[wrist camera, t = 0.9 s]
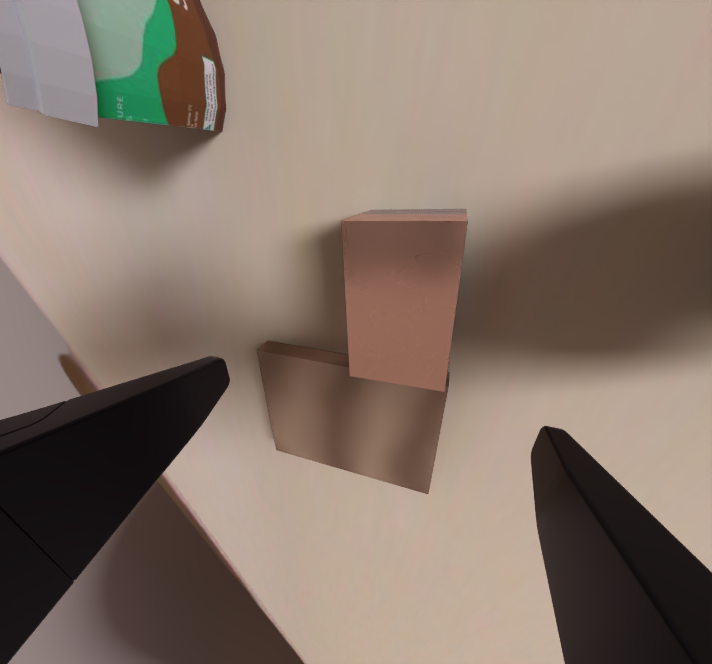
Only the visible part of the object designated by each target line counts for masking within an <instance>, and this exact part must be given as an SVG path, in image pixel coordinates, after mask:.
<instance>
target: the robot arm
mask: <svg viewBox="0 0 712 664" xmlns="http://www.w3.org/2000/svg"><path fill="white" fill-rule="evenodd" d="M229 382H230V378H229V374H228V371H227V367H226V363H225V361H224V360H223V359H222V358H219V357H214V356H210V357H206V358H203V359H200V360H196V361H193V362H190V363H187V364H183V365H180V366H177V367H174V368H170V369H167V370H164V371H161V372H157V373H154V374H151V375H148V376H144V377H141V378H138V379H135V380H131V381H128V382H125V383H122V384H118V385H115V386H112V387H109V388H106V389H102V390H99V391H96V392H93V393H89V394H86V395H83V396H80V397H76V398H73V399H70V400H68V401H63V402H60V403H57V404H54V405H51V406H47V407H44V408H40V409H37V410H34V411H30V412H27V413H23V414H20V415H17V416H13V417H10V418H6V419H2V420H0V664H8V663H9V661H10V660H11V659H12V658H13V656H14V655H15V654H16V653H17V651H18V650H19V649H20V648H21V647H22V645H23V644H24V643H25V642H26V640H27V639H28V638H29V637H30V636H31V634H32V633H33V632H34V631H35V629H36V628H37V627H38V626H39V625H40V623H41V622H42V621H43V620H44V618H45V617H46V616H47V615H48V613H49V612H50V611H51V610H52V609H53V607H54V606H55V605H56V604H57V602H58V601H59V600H60V599H61V598H62V596H63V595H64V594H65V593H66V591H67V590H68V589H69V588H70V587H71V585H72V584H73V583H74V580H76V579H77V577H78V576H79V575H80V574H81V572H82V571H83V570H84V569H85V568H86V566H87V565H88V564H89V563H90V562H91V560H92V559H93V558H94V557H95V555H96V554H97V553H98V552H99V551H100V549H101V548H102V547H103V546H104V544H105V543H106V542H107V541H108V540H109V538H110V537H111V536H112V535H113V533H114V532H115V531H116V530H117V529H118V527H119V526H120V525H121V524H122V522H123V521H124V520H125V519H126V518H127V516H128V515H129V514H130V513H131V511H132V510H133V509H134V508H135V506H136V505H137V504H138V503H139V502H140V500H141V499H142V498H143V497H144V495H145V494H146V493H147V492H148V490H149V489H150V488H151V487H152V486H153V484H154V483H155V482H156V481H157V480H158V478H159V477H160V476H161V475H162V473H163V472H164V471H165V470H166V469H167V467H168V466H169V465H170V464H171V462H172V461H173V460H174V459H175V458H176V456H177V455H178V454H179V453H180V451H181V450H182V449H183V448H184V446H185V445H186V444H187V443H188V442H189V440H190V439H191V438H192V437H193V435H194V434H195V433H196V432H197V430H198V429H199V428H200V427H201V425H202V424H203V422H204V421H205V420H206V418H207V417H208V415H209V414H210V412H211V411H212V409H213V408H214V406H215V405H216V403H217V402H218V401H219V399H220V398H221V396H222V395H223V393H224V392H225V390H226V389H227V387H228V385H229ZM531 467H532V478H533V489H534V501H535V512H536V522H537V529H538V534H539V540H540V545H541V550H542V554H543V559H544V564H545V569H546V574H547V579H548V584H549V589H550V593H551V598H552V603H553V608H554V613H555V618H556V623H557V628H558V632H559V637H560V642H561V647H562V652H563V657H564V662H565V664H712V572H711V571H710V570H709V569H708V568H707V567H706V566H705V565H703V564H702V563H701V562H700V561H699V560H698V559H697V558H696V557H695V556H694V555H693V554H692V553H691V552H690V551H689V550H688V549H687V548H686V547H685V546H684V545H683V544H682V543H681V542H680V541H679V540H678V539H677V538H676V537H675V536H673V535H672V534H671V533H670V532H669V531H668V530H667V529H666V528H665V527H664V526H663V525H662V524H661V523H660V522H659V521H658V520H657V519H656V518H655V517H654V516H653V515H652V514H651V513H650V512H649V511H648V510H647V509H646V508H645V507H644V506H642V505H641V504H640V503H639V502H638V501H637V500H636V499H635V498H634V497H633V496H632V495H631V494H630V493H629V492H628V491H627V490H626V489H625V488H624V487H623V486H622V485H621V484H620V483H619V482H618V481H617V480H616V479H615V478H614V477H612V476H611V475H610V474H609V473H608V472H607V471H606V470H605V469H604V468H603V467H602V466H601V465H600V464H599V463H598V462H597V461H596V460H595V459H594V458H593V457H592V456H591V455H590V454H589V453H588V452H587V451H586V450H585V449H584V448H583V447H581V446H580V445H579V444H578V443H577V442H576V441H575V440H574V439H573V438H572V437H571V436H570V435H569V434H568V433H567V432H566V431H564V430H562V429H559V428H554V427H549V426H543V427H542V428H541V429H540V431H539V434H538V436H537V439H536V441H535V443H534V446H533V448H532V452H531Z"/></svg>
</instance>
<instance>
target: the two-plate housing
mask: <svg viewBox="0 0 712 664" xmlns="http://www.w3.org/2000/svg"><path fill="white" fill-rule="evenodd" d="M467 224H468V219H467V211H466V209H408V210H370V211H367V212H364V213H362V214H359V215H356V216H353V217H350V218H348V219H345V220H342V221H341V227H342V245H343V263H344V281H345V299H346V317H347V335H348V353H349V371H350V376H352V377H358V378H364V379H370V380H376V381H382V382H388V383H394V384H400V385H406V386H412V387H418V388H424V389H430V390H436V391H442V392H445V385H446V378H447V370H448V363H449V356H450V348H451V341H452V334H453V326H454V319H455V312H456V304H457V297H458V290H459V282H460V275H461V268H462V260H463V253H464V246H465V238H466V231H467Z"/></svg>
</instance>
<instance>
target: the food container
mask: <svg viewBox="0 0 712 664" xmlns="http://www.w3.org/2000/svg"><path fill="white" fill-rule="evenodd" d="M0 73H1V74H2V79H3V84H4V90H5V95H6V101H7V104H8V105H9V106H14V107H20V108H25V109H31V110H37V111H39V112H40V113H41V114H43V115H45V116H50V117H54V118H59V119H63V120H68V121H72V122H77V123H82V124H86V125H91V126H95V127H98V117H100V118H108V119H117V120H126V121H134V122H143V123H152V124H160V125H169V126H178V127H186V128H195V129H204V130H212V131H221V132H222V130H223V124H224V118H225V112H226V97H225V73H224V69H223V64H222V60H221V56H220V52H219V47H218V43H217V39H216V35H215V33H214V31H213V28H212V26H211V24H210V22H209V20H208V18H207V15H206V13H205V11H204V9H203V7H202V5H201V2H200V0H0Z"/></svg>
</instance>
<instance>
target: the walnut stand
mask: <svg viewBox="0 0 712 664" xmlns="http://www.w3.org/2000/svg"><path fill="white" fill-rule="evenodd" d="M257 354H258V359H259V364H260V370H261V375H262V380H263V385H264V390H265V395H266V400H267V405H268V410H269V416H270V421H271V426H272V431H273V436H274V441H275V446H276V450H278V451H281V452H285V453H288V454H292V455H295V456H298V457H302V458H305V459H309V460H312V461H316V462H319V463H322V464H326V465H329V466H333V467H336V468H340V469H343V470H347V471H350V472H353V473H357V474H360V475H364V476H367V477H371V478H374V479H377V480H381V481H384V482H388V483H391V484H395V485H398V486H401V487H405V488H408V489H412V490H415V491H419V492H422V493H425V494H428V493H429V488H430V483H431V477H432V472H433V466H434V461H435V456H436V450H437V445H438V440H439V434H440V429H441V424H442V418H443V413H444V408H445V402H446V397H447V392H448V386H449V372H447V378H446V385H445V392H442V391H436V390H430V389H424V388H418V387H412V386H406V385H400V384H394V383H388V382H382V381H376V380H370V379H364V378H358V377H352V376H350V371H349V355H346V354H340V353H335V352H329V351H323V350H317V349H312V348H306V347H300V346H294V345H289V344H283V343H277V342H271V341H267V342H266V343H265V344H264V345H262V346H261V347H260V348H259V349H258V350H257Z"/></svg>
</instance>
